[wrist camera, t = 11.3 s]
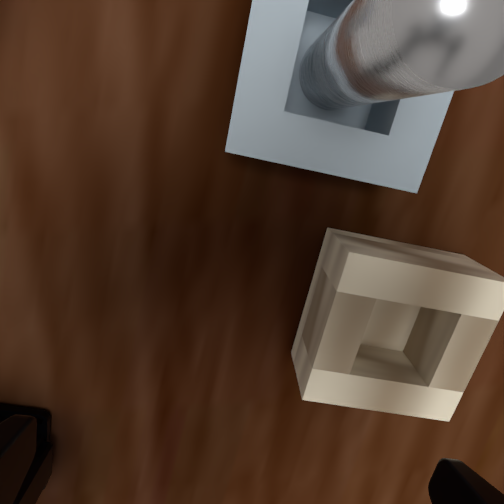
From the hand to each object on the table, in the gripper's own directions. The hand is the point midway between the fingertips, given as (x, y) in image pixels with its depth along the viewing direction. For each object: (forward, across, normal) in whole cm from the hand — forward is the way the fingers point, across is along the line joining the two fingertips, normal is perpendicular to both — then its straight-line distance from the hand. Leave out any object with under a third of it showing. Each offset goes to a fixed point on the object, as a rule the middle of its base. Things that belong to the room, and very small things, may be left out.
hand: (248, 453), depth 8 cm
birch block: (+12, -8, +1) cm, 15 cm away
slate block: (+12, -3, -10) cm, 16 cm away
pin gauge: (+11, -2, -10) cm, 15 cm away
